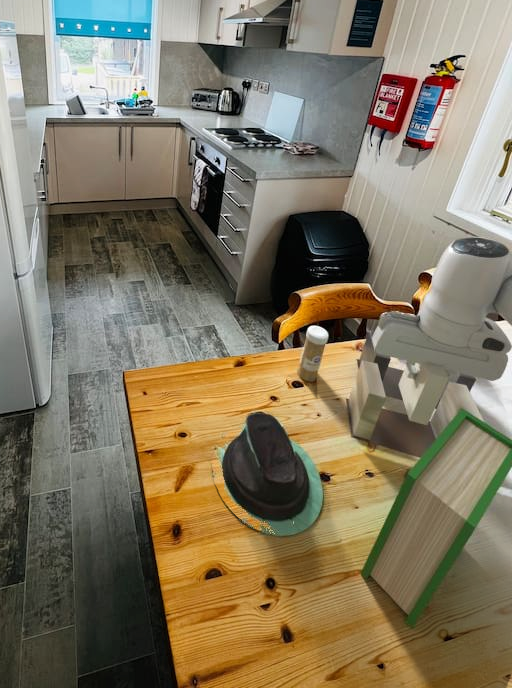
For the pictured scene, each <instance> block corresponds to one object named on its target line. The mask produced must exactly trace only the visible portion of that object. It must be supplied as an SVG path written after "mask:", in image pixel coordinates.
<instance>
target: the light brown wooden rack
mask: <svg viewBox="0 0 512 688" xmlns="http://www.w3.org/2000/svg"><path fill="white" fill-rule="evenodd" d="M386 400H387V396H386V395H385V392H384V388H383V384H382V380H381V376H380V372H379V368H378V364H376V363H372V362H368V361H364V360H362V361H361V364H360V367H359V370H358V371H357V374H356V376H355V379H354V383H353V386H352V389H351V392H350V395H349V397H348V398H347V397H345V404H346V411H347V418H348V425H349V431H350V437H351V438H353V439H356V440H360V441H363V442H367V443H368V444H373V445H377V446H378V447H379V446H380V447H383V448H385V449H390V450H393V451H397V452H399V453H403V454H406V455H410V456H413V457H417V458H419V459H420V458H421V457H422V456H423V454H424V453H425V452H426V451H427V450H428V448H429V447H430V446H431V445H432V444H433V442H434V441H435V440H436V439H437V438H438V436H439V435H440V434H441V433H442V432H443V430H444V429H445V428H446V427H447V426H448V424H449V423H450V422H451V421H452V420H453V418H454V417H455V416H456V415H457V414H458V412H459V411H460V410H461V409H464V410H466V411H467V412H469V413H470V414H472V415H473V416H475V417H477V418H478V419H480V420H481V421H483V422H485V420H484V418H483V416H482V414H481V412H480V409H479V408H478V406H477V404H476V401H475V399H474V398H473V396H472V394H471V391H470V392H469V390H468V388H467V386H466V385H462V384H458V383H453V382H449V383H448V385H447V387H446V389H445V392H444V394H443V396H442V398H441V400H440V402H439V404H438V407H437V409H435V410H434V412H433V414H432V416H431V418H430V420H429V422H428V425H424V424H420V423H417V422H413V421H410V420H409V418H408V414H407V413H406V414H405V413H402V412H398V411H394V410H390V409H387V408H384V405H385V402H386Z"/></svg>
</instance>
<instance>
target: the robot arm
mask: <svg viewBox="0 0 512 688" xmlns="http://www.w3.org/2000/svg"><path fill="white" fill-rule="evenodd" d="M489 314H497V315H500V317H502V318H503V319H504V320H505V321H506V322H507V323H508V324H509V325H510V326H511V327H512V251H511V250H510V249H509V248H508V247H507V246H506V245H505V244H503V243H501V242H499V241H498V240H494V239H492V238H486V237H482V236H463V237H460V238H457V239H455V240H453V241H452V242H451V243H450V244H449V245H448V246H447V247H446V248H445V250H444V251H443V253H442V255H441V257H440V258H439V260H438V263H437V264H436V267H435V269H434V272H433V274H432V277H431V285H430V289H429V290H428V292H427V293H426V294H425V295H424V297H423V300H422V303H421V305H420V308H419V310H418V312H417V314H411V313H405V312H401V311H397V310H391V311H387V312H386V311H385V312H383V313H381V315H380V316H379V318H378V321H377V326H376V328H375V330H374V331H375V332H374V334H373V337H372V343H373V347H374V349H375V350H376V352H377V353H378V354H381V355H385V356H389V357H390V358H392V359H393V358H394V359H398V360H403V361H404V363H405V367H406V365H407V367H406V369H405V368H404V369H405V375H406V377H407V378H410V379H416V377H417V375H418V373H417V371H416V368H415V367H413V366H414V365H415V363H419V364H423V365H424V364H425V363H428V364H432V365H436V366H440V367H444V369H445V371H446V373H447V375H448V377H449V378H451V377H453V376H455V374H456V373H460V374H465V375H469V376H473V377H475V378H476V379H480V380H481V379H482V380H485V381H489V382H494V381H498V380H499V379H501V378H502V376H504V373H505V370H506V368H507V366H508V363H509V356H508V355H509V354H508V353H509V352H510V351H512V342H511V341H510V339H509V338H508V336H507V334H506V333H505V332H504V331H503V329H502V328H501V327H500V326H499V325H498V323H497V322H496V321H494V320H492V319H491V318H488V317H487V315H489ZM411 365H412V366H411Z"/></svg>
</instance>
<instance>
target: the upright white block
mask: <svg viewBox="0 0 512 688" xmlns="http://www.w3.org/2000/svg"><path fill="white" fill-rule="evenodd" d="M411 366H412V365H411ZM406 367H407V365H406V364H405V367H404V369H403V370H404V372H403V374H402V377H401V379H400V382H399V384H398V385H399V388H400V391H401V394H402V398H403V400H402V402H403V404H404V408H405V411H406V415H408V418H409V420H410V421H413V422H417V423H420V424H424V425H428V422H429V421H431V419H432V417H433V415H434V413H435V411H436V409H435V407H436V405H437V403H438V401H439V399H440V397H441V395H442V392H443V390H444V388H445V386H446V384H447V382H448V380H449V377H448V375H447V373H446V371H445V369H444V367H440V366H436V365H432V364H428V363H425V364H424V365H423V364H419V363H415V365H414V366H413V367H415V368H416V371H417V373H418V375H417V377H416V379H410V378H407V377H406V375H405V369H406Z"/></svg>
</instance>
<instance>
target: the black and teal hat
mask: <svg viewBox="0 0 512 688" xmlns="http://www.w3.org/2000/svg"><path fill="white" fill-rule="evenodd" d="M244 423H245V425H240V426H241V427H242V428H243V429H242V428H241V429H242V432H239V434H240V435H239V436H237V437H236V438H235V439H234V440H232V441H231V443H230V442H229V443H230V444H228V445H227V444H225V445H226V446H225V447H226V448H227V449H226V450H224V449H223V450H222V448H221V447H218V446H217V447H218V450H219V451H220V452H219V453H220V455H219V454H218V455H219V456H220V457H221V459H220V458H219V457H218V456H217V454H216V453H215V454H216V457H217V458H219V459H220V460H219V461H220V462H221V465H222V469H223V471H222V472H223V477H224V480H225V481H224V482H225V486H226V487H225V488H224V490H225V489H227V491H228V492H229V493H228V494H229V495H230V496H231V498H232V499H231V500H234V502H236V504H239V505H238V506H241V507H242V509H244V510H246V512H247V513H248V514H249V515H251V517H254V518H256V519H258V520H259V521H262V522H263V523H264V521H265V523H268V524H267V525H269V526H271V527H270V529H271V530H273V531H274V533H275V534H274V533H272V532H273V531H270V532H271V534H272V535H271V534H270V532H269V530H270V529H268V528H267V531H266V527H267V526H266V527H265V528H264V526H261V525H260V526H261V528H262V530H261V531H263V530H264V531H263V532H261V533H263V534H267V535H270V536H275V537H283V536H294V535H297V534H300V533H302V532H303V531H305V530H306V529H308V528H310V527H311V526H312V525H313V523H314V522H315V521H316V520H317V518H318V517H319V514H320V512H321V510H322V506H323V499H324V489H323V484H322V480H321V476H320V474H319V470H318V469H317V466H316V464H315V462H314V461H313V459H312V458H311V457H310V455H309V454H308V452H306V451H305V450H304V448H302V447H301V445H300V444H298V443H297V442H295V441H294V440H292V439H291V438H290V437H289V434H288V433H287V430H286V428H285V426H284V425H283V424H282V423H281V421H280V420H279V419H278V418H276V417H275V416H274V415H272V414H270V413H269V414H268V413H264V412H258V411H255V410H254V411H253V413H251V414H249V415H248V416H245V421H244ZM226 433H227V432H225V433H224V434H222V436H223V437H224V435H225V434H226ZM227 442H228V441H227ZM216 452H217V451H216ZM222 457H223V458H222ZM214 473H215V474H214V475H216V472H214ZM219 473H221V472H219ZM227 491H226V492H227ZM240 518H241V517H240ZM242 519H243V518H242ZM242 519H241V520H242ZM241 520H240V521H241ZM244 520H245V518H244ZM244 520H243V521H244ZM243 521H241V522H242V523H243V524H245V522H246V520H245V521H244V522H243ZM293 521H294V524H293ZM262 522H261V523H262ZM247 523H249V522H247ZM249 525H250V524H249ZM249 525H247V526H249ZM262 525H263V524H262ZM251 526H252V524H251V525H250V526H249V527H250V528H252V527H251ZM269 526H268V527H269ZM253 527H254V526H253ZM264 532H265V533H264Z"/></svg>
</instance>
